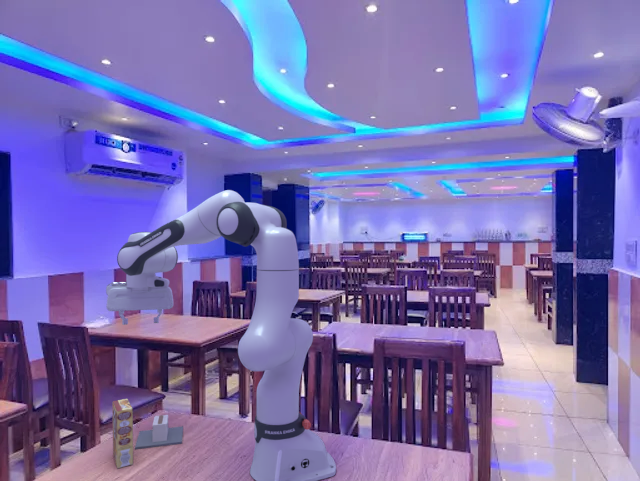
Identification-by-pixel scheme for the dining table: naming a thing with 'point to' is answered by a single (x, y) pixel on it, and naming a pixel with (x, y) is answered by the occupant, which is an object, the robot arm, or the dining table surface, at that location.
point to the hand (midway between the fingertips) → (140, 323)
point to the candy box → (122, 433)
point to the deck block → (160, 428)
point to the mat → (146, 441)
